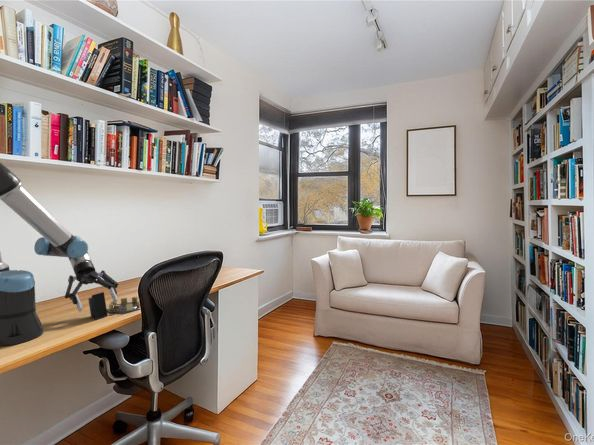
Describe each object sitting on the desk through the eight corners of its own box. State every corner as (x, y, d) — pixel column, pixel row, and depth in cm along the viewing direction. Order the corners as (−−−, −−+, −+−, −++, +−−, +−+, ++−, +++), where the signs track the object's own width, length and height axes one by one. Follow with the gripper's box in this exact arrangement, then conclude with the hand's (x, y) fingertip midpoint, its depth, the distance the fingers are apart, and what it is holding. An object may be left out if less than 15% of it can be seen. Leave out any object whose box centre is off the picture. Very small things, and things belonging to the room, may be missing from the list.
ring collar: (99, 313, 142) (99, 306, 142) (122, 302, 157) (122, 296, 156) (131, 314, 140) (131, 306, 140) (151, 303, 155) (151, 297, 155)
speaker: (111, 315, 137) (107, 291, 137) (95, 320, 133) (92, 295, 132) (104, 314, 142) (100, 290, 142) (89, 318, 137) (85, 294, 137)
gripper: (110, 266, 156) (126, 302, 148) (47, 276, 136) (62, 318, 128) (114, 256, 153) (132, 293, 144) (50, 265, 133) (66, 308, 124)
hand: (99, 305), depth 136 cm, fingers open, 13 cm apart
